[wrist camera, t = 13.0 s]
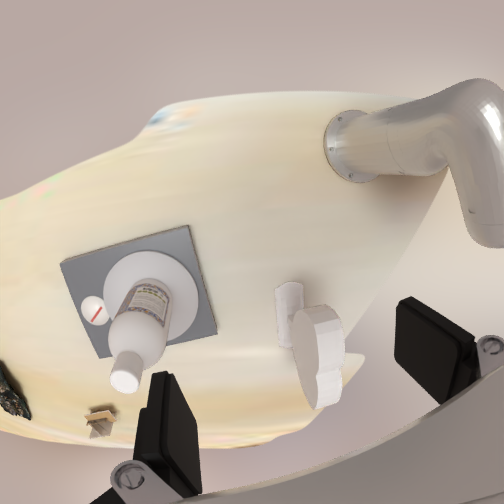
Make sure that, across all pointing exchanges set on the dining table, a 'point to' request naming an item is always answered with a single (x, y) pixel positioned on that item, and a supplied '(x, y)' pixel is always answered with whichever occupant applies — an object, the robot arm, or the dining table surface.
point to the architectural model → (100, 423)
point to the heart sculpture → (312, 344)
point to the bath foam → (139, 333)
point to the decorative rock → (11, 399)
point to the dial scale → (131, 271)
